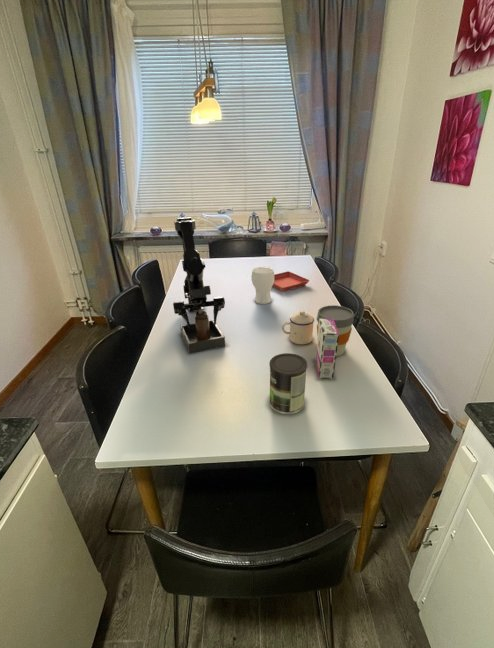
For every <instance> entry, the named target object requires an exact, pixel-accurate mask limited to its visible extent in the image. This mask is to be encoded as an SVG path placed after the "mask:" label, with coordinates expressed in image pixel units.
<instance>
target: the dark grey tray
mask: <svg viewBox="0 0 494 648" xmlns="http://www.w3.org/2000/svg"><path fill="white" fill-rule="evenodd" d="M190 327H191V329H189V327H188V325H187V324H182V325H180V326H179V328H180V335H181V338H182V339H183V342H184V344H185V346H186V348H187V351H188V353H189V354H193V353H199V352H203V351H208V350H214V349H219V348H223V347H226V338H225V335H224V334H223V332H222V331H221V329H220V328H219V326H218V325H217V323H216V326H215V325H214V319H209V329H210V339H206V340H201V341H197V334H196V325H195V322H192V323H190Z"/></svg>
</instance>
